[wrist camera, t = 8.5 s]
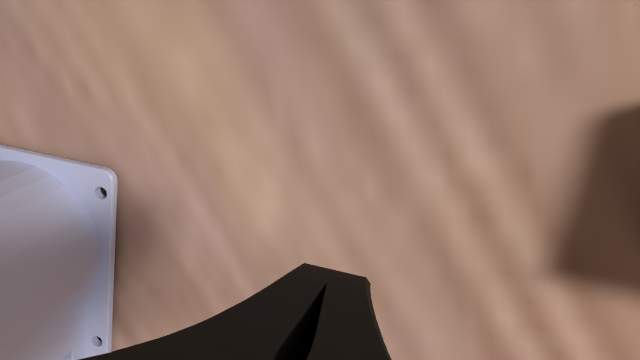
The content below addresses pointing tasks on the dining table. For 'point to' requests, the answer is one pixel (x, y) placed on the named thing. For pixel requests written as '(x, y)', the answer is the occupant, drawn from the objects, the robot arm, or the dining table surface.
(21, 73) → the dining table surface
